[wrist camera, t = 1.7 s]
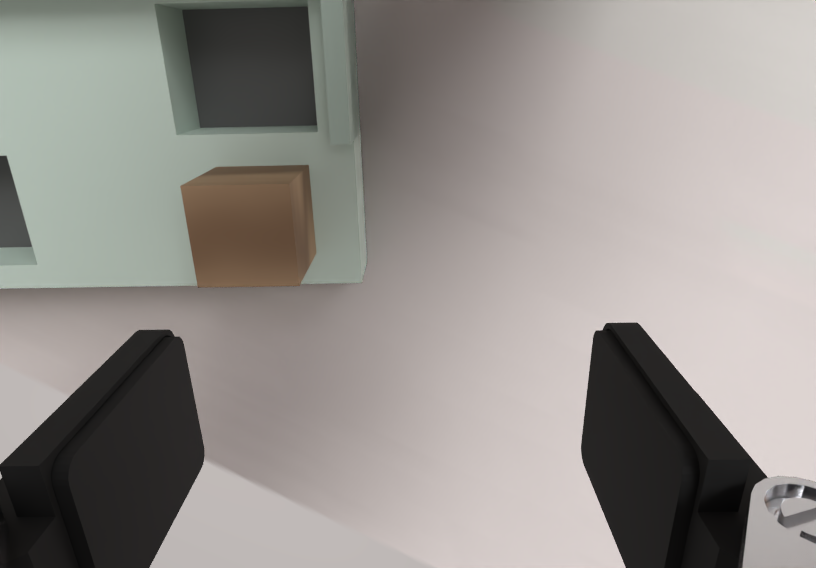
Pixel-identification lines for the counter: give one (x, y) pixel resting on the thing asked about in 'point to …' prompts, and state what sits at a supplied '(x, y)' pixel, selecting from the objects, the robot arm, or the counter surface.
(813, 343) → the counter surface
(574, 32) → the counter surface
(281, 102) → the tray
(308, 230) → the walnut block
